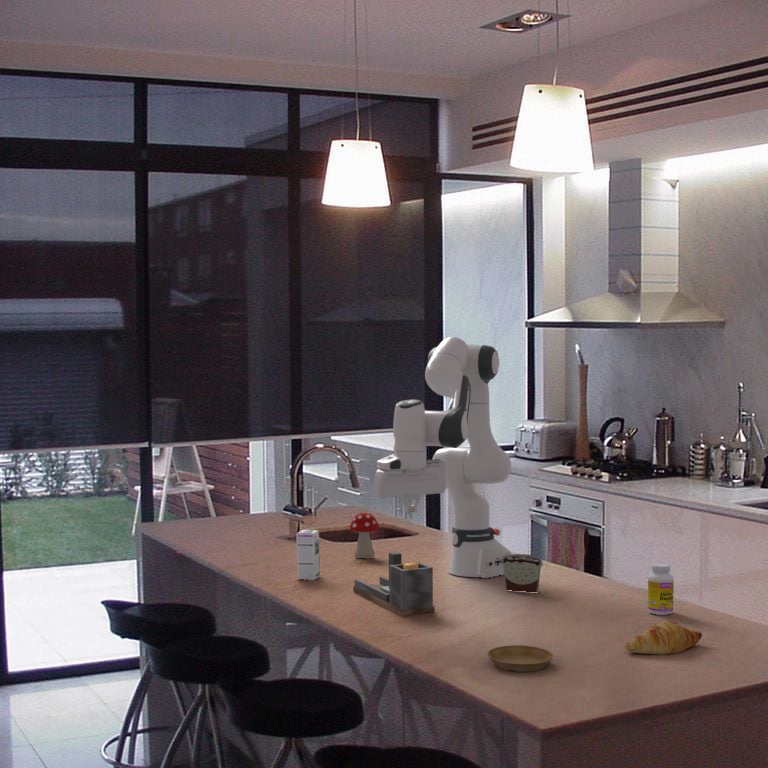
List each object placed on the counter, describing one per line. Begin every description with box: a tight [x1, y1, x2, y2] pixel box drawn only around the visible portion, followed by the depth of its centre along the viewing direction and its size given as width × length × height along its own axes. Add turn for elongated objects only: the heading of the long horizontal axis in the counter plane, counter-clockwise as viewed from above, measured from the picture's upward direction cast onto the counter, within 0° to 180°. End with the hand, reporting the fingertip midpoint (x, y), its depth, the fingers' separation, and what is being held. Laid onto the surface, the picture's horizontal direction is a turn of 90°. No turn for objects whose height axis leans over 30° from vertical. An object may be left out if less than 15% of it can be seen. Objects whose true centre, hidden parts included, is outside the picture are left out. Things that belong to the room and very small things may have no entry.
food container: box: [501, 553, 544, 593], centre depth 337 cm, size 12×6×10 cm, turn 65°
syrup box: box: [295, 529, 321, 581], centre depth 356 cm, size 6×6×14 cm
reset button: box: [402, 562, 418, 570], centre depth 314 cm, size 4×4×6 cm
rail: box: [352, 562, 435, 617], centre depth 325 cm, size 10×32×12 cm, turn 25°
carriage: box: [380, 551, 403, 594], centre depth 323 cm, size 6×8×12 cm
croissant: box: [624, 620, 703, 655], centre depth 274 cm, size 21×10×8 cm, turn 114°
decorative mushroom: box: [349, 512, 380, 559], centre depth 387 cm, size 10×9×15 cm
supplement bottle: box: [647, 562, 675, 616], centre depth 309 cm, size 7×7×13 cm
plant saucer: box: [487, 644, 554, 672], centre depth 263 cm, size 15×15×3 cm
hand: (410, 512), depth 313 cm, fingers closed
